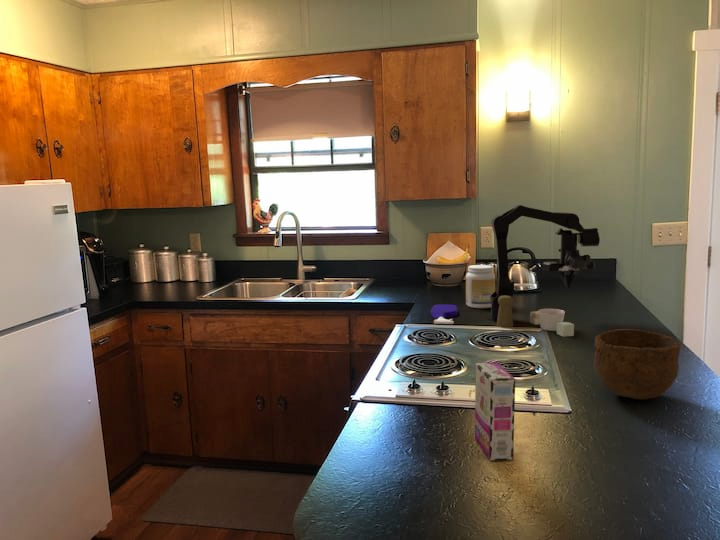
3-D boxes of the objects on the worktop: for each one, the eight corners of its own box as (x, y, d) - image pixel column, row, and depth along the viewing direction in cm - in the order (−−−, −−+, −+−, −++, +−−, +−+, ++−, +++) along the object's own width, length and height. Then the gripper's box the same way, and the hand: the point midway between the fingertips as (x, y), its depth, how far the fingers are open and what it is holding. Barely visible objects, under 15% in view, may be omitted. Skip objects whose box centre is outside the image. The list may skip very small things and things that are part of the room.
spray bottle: (431, 304, 246) (427, 318, 222) (458, 304, 244) (457, 319, 220) (431, 311, 246) (428, 326, 222) (458, 311, 244) (457, 326, 220)
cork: (513, 327, 214) (514, 297, 213) (496, 327, 215) (497, 297, 214) (513, 323, 220) (513, 294, 218) (496, 323, 221) (496, 294, 220)
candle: (554, 324, 217) (554, 307, 216) (569, 330, 208) (570, 312, 208) (532, 327, 214) (533, 309, 213) (547, 332, 206) (547, 315, 205)
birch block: (530, 322, 222) (530, 311, 221) (539, 321, 223) (539, 311, 222) (535, 324, 218) (535, 314, 217) (545, 323, 219) (545, 313, 218)
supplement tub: (501, 306, 250) (501, 266, 248) (480, 310, 243) (480, 269, 241) (480, 301, 260) (480, 263, 258) (459, 305, 253) (459, 266, 251)
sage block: (556, 334, 204) (556, 322, 204) (567, 333, 205) (567, 321, 205) (563, 336, 201) (563, 325, 200) (573, 335, 201) (574, 324, 201)
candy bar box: (515, 460, 114) (516, 378, 111) (489, 462, 113) (490, 379, 111) (497, 436, 125) (497, 360, 122) (473, 437, 124) (474, 362, 122)
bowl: (674, 417, 132) (677, 352, 130) (585, 402, 142) (587, 342, 140) (680, 391, 148) (683, 333, 145) (600, 379, 157) (602, 325, 155)
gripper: (558, 250, 211) (557, 293, 213) (604, 247, 215) (602, 290, 217) (541, 247, 221) (540, 288, 224) (586, 244, 226) (584, 285, 228)
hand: (567, 288), depth 223 cm, fingers closed
